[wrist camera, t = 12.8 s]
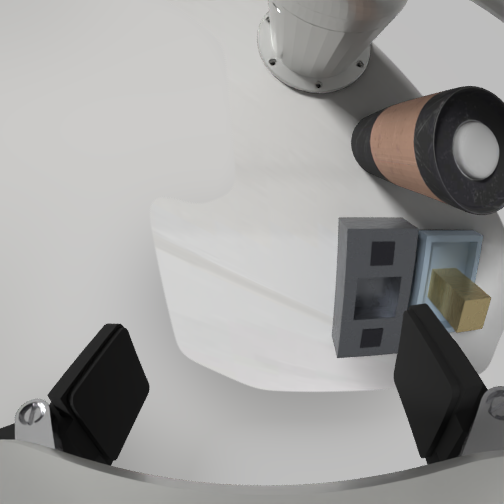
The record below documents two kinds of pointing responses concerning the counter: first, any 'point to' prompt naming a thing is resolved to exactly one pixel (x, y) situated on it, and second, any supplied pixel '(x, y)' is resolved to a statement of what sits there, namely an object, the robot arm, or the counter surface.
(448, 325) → the parts tray
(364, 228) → the grey slotted block
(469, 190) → the travel mug
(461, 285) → the brushed brass bar
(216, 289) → the counter surface
